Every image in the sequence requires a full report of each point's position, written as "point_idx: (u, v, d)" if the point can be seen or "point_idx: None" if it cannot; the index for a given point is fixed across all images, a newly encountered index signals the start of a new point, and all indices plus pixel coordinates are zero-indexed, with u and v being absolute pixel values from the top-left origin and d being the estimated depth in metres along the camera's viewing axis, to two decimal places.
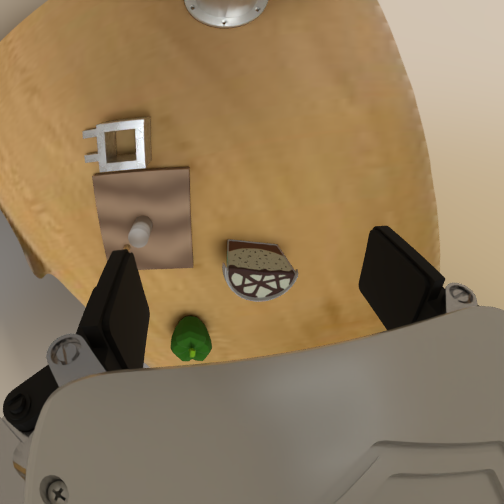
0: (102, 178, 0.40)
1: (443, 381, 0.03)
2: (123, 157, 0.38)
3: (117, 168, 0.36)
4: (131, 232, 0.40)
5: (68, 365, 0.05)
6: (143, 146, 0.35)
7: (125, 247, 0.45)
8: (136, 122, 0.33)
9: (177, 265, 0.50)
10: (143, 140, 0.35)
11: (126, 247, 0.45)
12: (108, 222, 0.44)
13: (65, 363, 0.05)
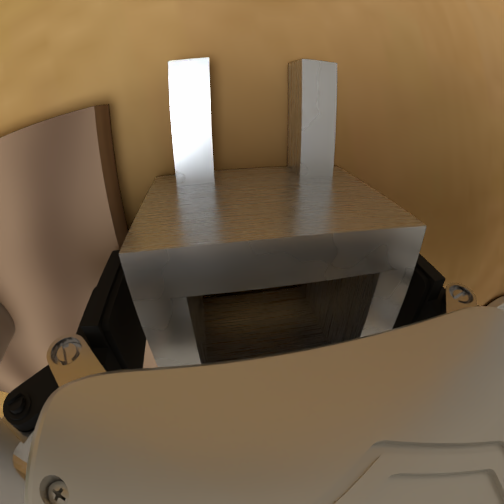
0: (86, 163, 0.08)
1: (443, 381, 0.03)
2: None
3: (160, 349, 0.07)
4: None
5: (68, 365, 0.05)
6: None
7: None
8: None
9: None
10: None
11: None
12: None
13: (65, 363, 0.05)
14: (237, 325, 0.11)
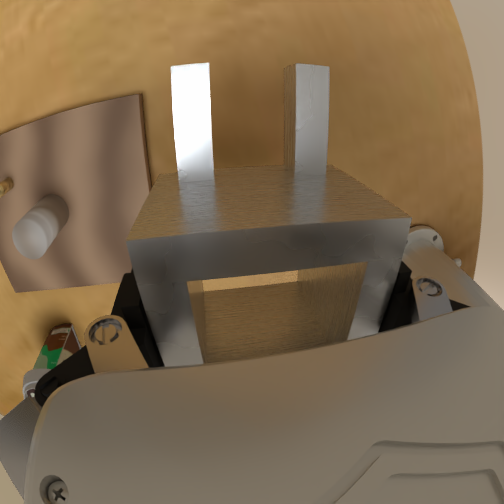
0: (133, 118, 0.18)
1: (443, 381, 0.03)
2: None
3: (162, 333, 0.07)
4: (35, 226, 0.15)
5: (105, 345, 0.06)
6: None
7: (7, 186, 0.16)
8: None
9: (9, 271, 0.21)
10: None
11: (7, 188, 0.16)
12: (44, 139, 0.16)
13: (102, 343, 0.06)
14: (235, 316, 0.12)
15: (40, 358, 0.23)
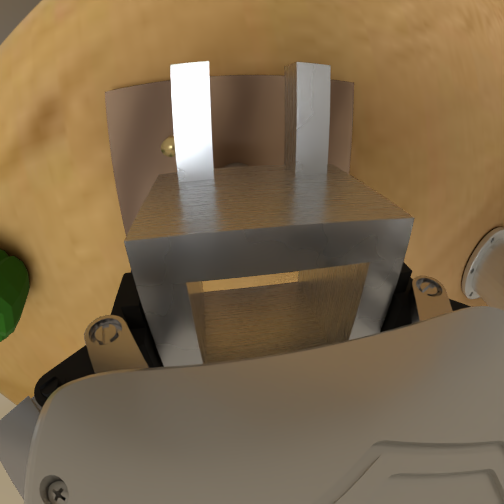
0: (347, 104, 0.18)
1: (443, 381, 0.03)
2: None
3: (162, 334, 0.07)
4: None
5: (105, 345, 0.06)
6: None
7: None
8: None
9: None
10: None
11: None
12: (244, 98, 0.17)
13: (102, 343, 0.06)
14: (236, 317, 0.12)
15: None
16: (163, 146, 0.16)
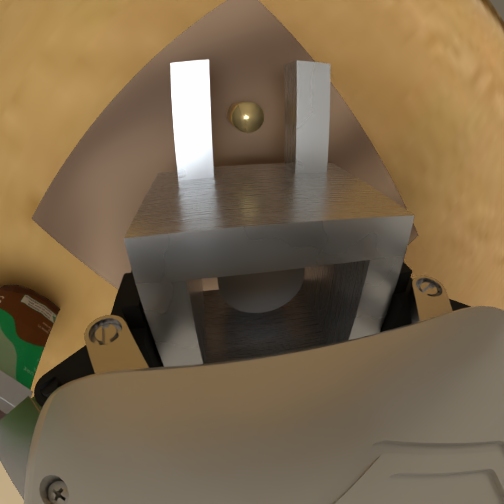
0: None
1: (443, 381, 0.03)
2: None
3: (161, 332, 0.07)
4: (298, 280, 0.11)
5: (105, 345, 0.06)
6: None
7: None
8: None
9: (60, 188, 0.12)
10: None
11: None
12: (343, 154, 0.14)
13: (102, 343, 0.06)
14: (236, 316, 0.12)
15: None
16: (243, 107, 0.09)
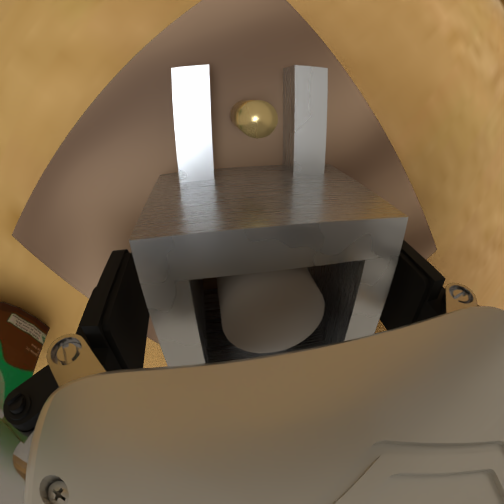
0: None
1: (443, 381, 0.03)
2: None
3: (165, 330, 0.07)
4: (316, 317, 0.09)
5: (68, 365, 0.05)
6: None
7: None
8: None
9: (40, 202, 0.10)
10: None
11: None
12: (363, 162, 0.12)
13: (65, 363, 0.05)
14: None
15: None
16: (252, 106, 0.08)
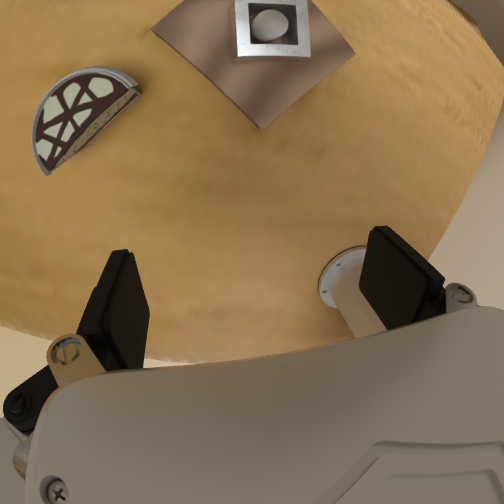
0: (344, 57, 0.27)
1: (443, 381, 0.03)
2: None
3: (238, 17, 0.19)
4: (286, 25, 0.20)
5: (68, 365, 0.05)
6: (271, 54, 0.22)
7: None
8: (307, 47, 0.22)
9: (173, 15, 0.21)
10: (280, 54, 0.22)
11: None
12: None
13: (65, 363, 0.05)
14: None
15: None
16: None
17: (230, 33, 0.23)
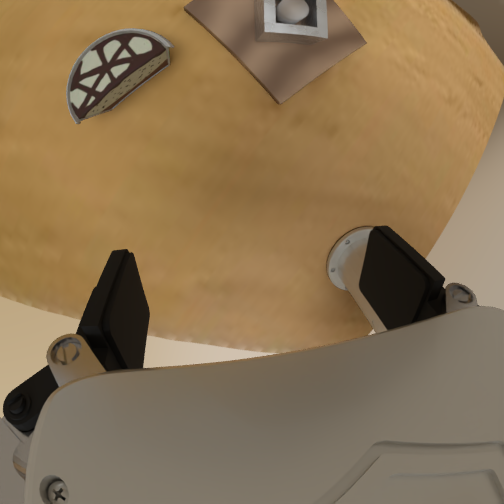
0: (356, 45, 0.28)
1: (443, 381, 0.03)
2: None
3: None
4: (306, 10, 0.22)
5: (68, 365, 0.05)
6: (293, 33, 0.23)
7: None
8: (324, 30, 0.23)
9: None
10: (301, 34, 0.23)
11: None
12: None
13: (65, 363, 0.05)
14: None
15: None
16: None
17: (256, 15, 0.24)
